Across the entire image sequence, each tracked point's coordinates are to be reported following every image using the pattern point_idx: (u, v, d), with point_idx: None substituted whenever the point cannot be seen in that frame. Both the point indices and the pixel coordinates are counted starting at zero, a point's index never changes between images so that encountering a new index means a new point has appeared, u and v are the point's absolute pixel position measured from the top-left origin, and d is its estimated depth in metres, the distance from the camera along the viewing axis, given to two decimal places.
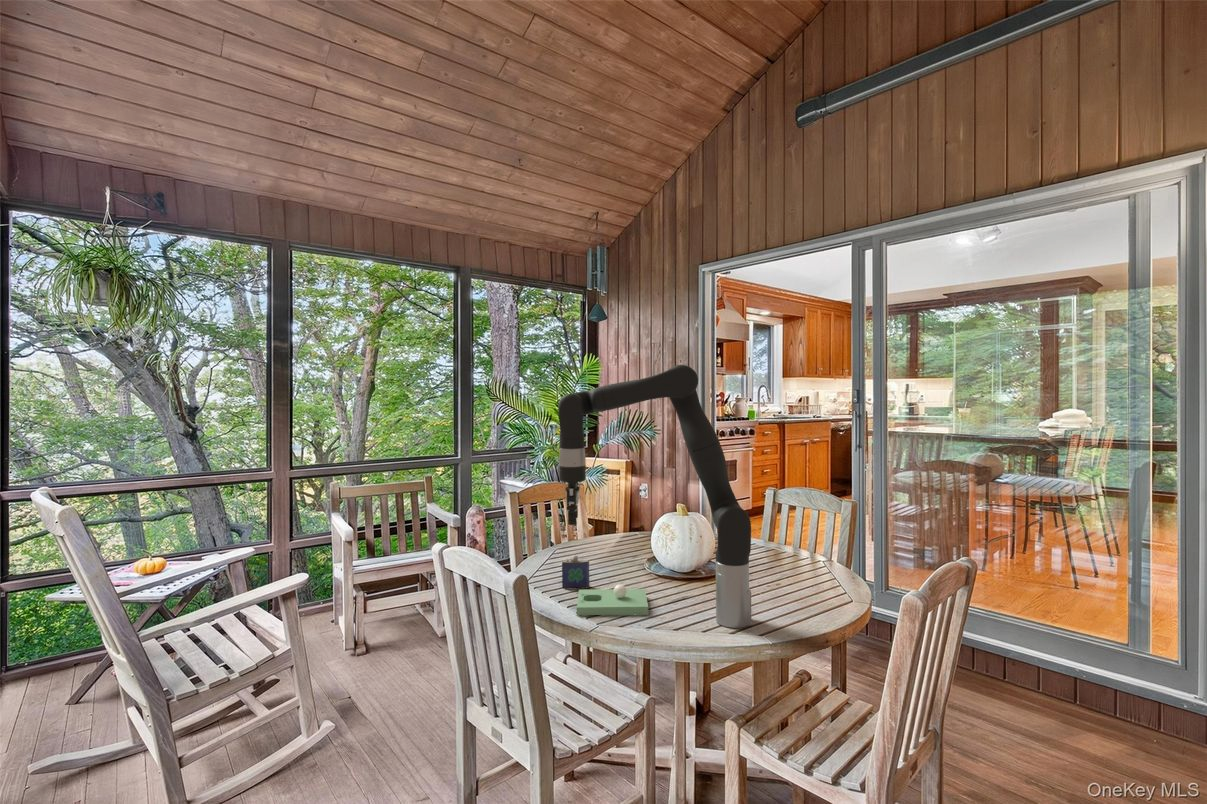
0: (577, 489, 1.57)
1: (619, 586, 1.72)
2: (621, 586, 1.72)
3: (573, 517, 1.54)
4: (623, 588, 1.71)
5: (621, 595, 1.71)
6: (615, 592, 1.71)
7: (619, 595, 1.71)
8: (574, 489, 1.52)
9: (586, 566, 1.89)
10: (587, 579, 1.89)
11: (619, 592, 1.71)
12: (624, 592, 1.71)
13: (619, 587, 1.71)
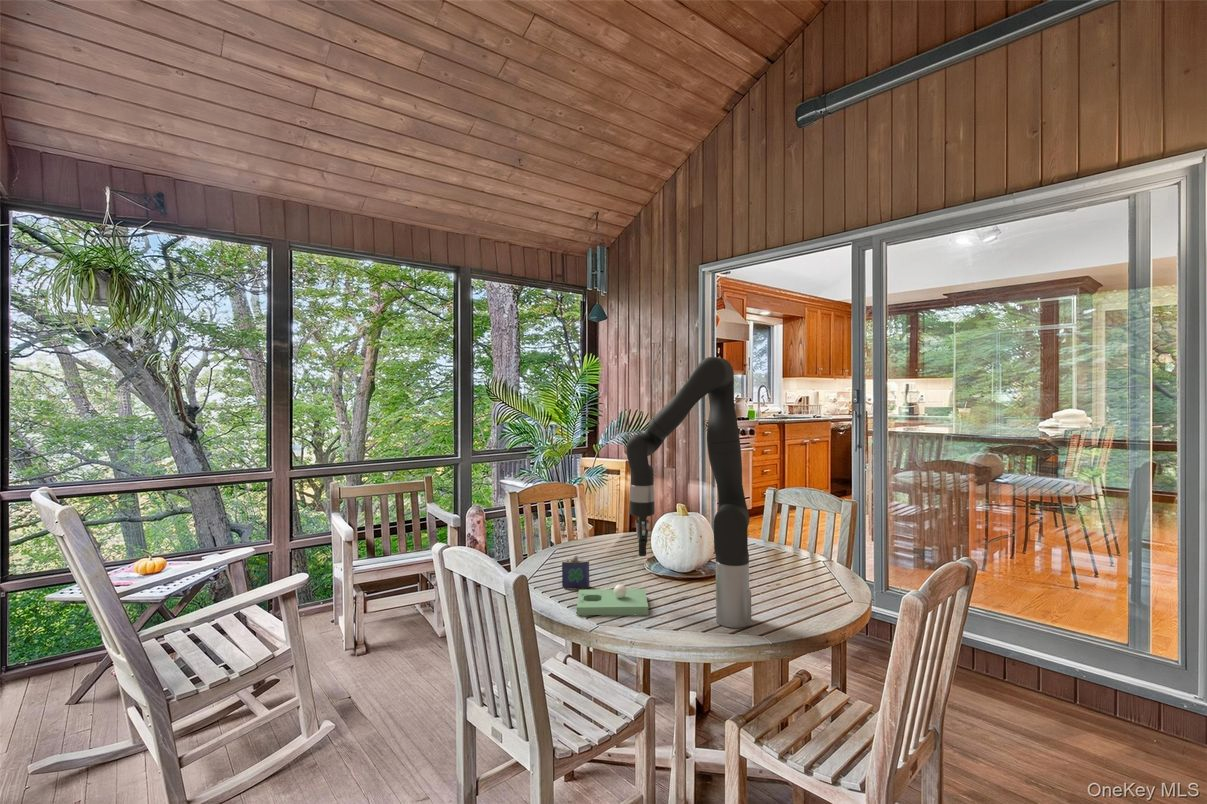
0: (647, 524, 1.70)
1: (619, 586, 1.72)
2: (621, 586, 1.72)
3: (644, 549, 1.71)
4: (623, 588, 1.71)
5: (621, 595, 1.71)
6: (615, 592, 1.71)
7: (619, 595, 1.71)
8: (646, 532, 1.66)
9: (586, 566, 1.89)
10: (587, 579, 1.89)
11: (619, 592, 1.71)
12: (624, 592, 1.71)
13: (619, 587, 1.71)
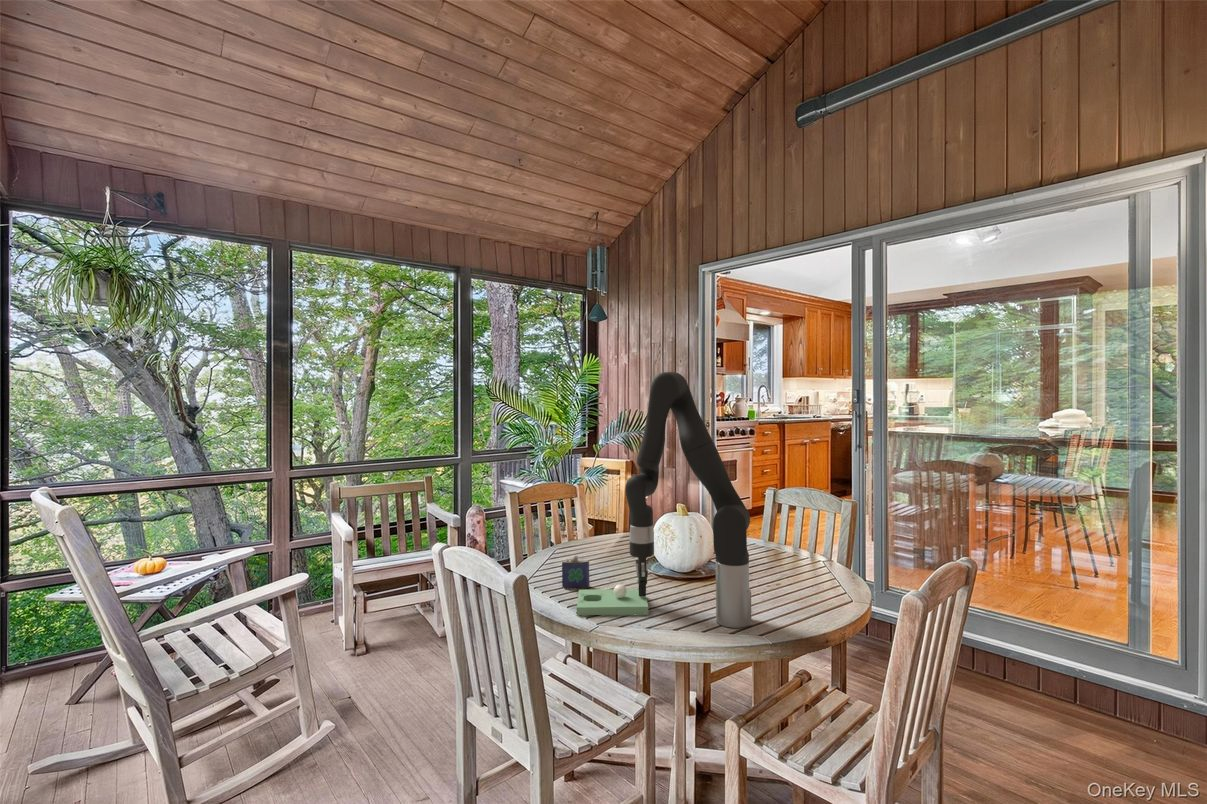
0: (647, 565, 1.71)
1: (619, 586, 1.72)
2: (621, 586, 1.72)
3: (643, 590, 1.71)
4: (623, 588, 1.71)
5: (621, 595, 1.71)
6: (615, 592, 1.71)
7: (619, 595, 1.71)
8: (646, 573, 1.66)
9: (586, 566, 1.89)
10: (587, 579, 1.89)
11: (619, 592, 1.71)
12: (624, 592, 1.71)
13: (619, 587, 1.71)
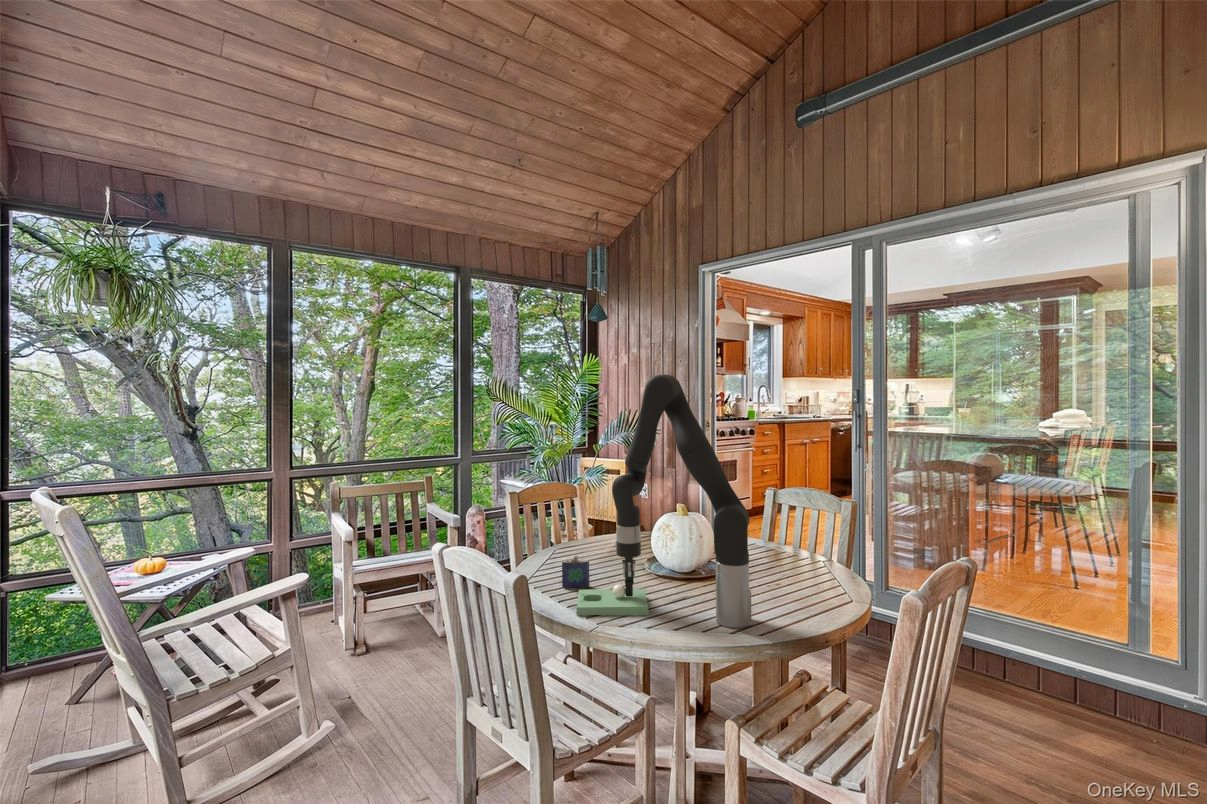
0: (633, 565, 1.71)
1: (617, 586, 1.72)
2: (619, 586, 1.72)
3: (630, 590, 1.71)
4: (621, 588, 1.71)
5: (620, 595, 1.71)
6: (614, 593, 1.71)
7: (618, 595, 1.71)
8: (632, 573, 1.66)
9: (586, 566, 1.89)
10: (587, 579, 1.89)
11: (617, 592, 1.71)
12: (623, 591, 1.71)
13: (618, 588, 1.71)
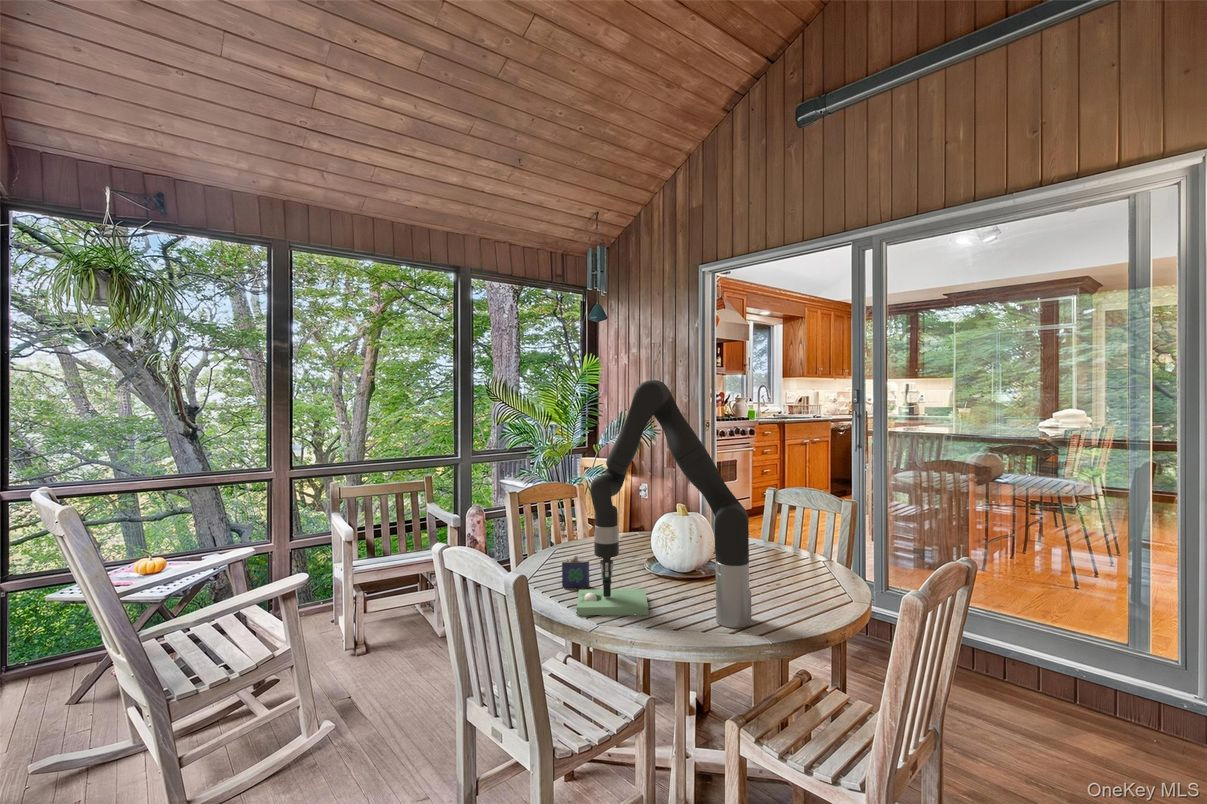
0: (611, 565, 1.71)
1: None
2: None
3: (608, 590, 1.71)
4: None
5: None
6: (592, 596, 1.71)
7: (588, 599, 1.71)
8: (609, 573, 1.66)
9: (586, 566, 1.89)
10: (587, 579, 1.89)
11: None
12: None
13: None
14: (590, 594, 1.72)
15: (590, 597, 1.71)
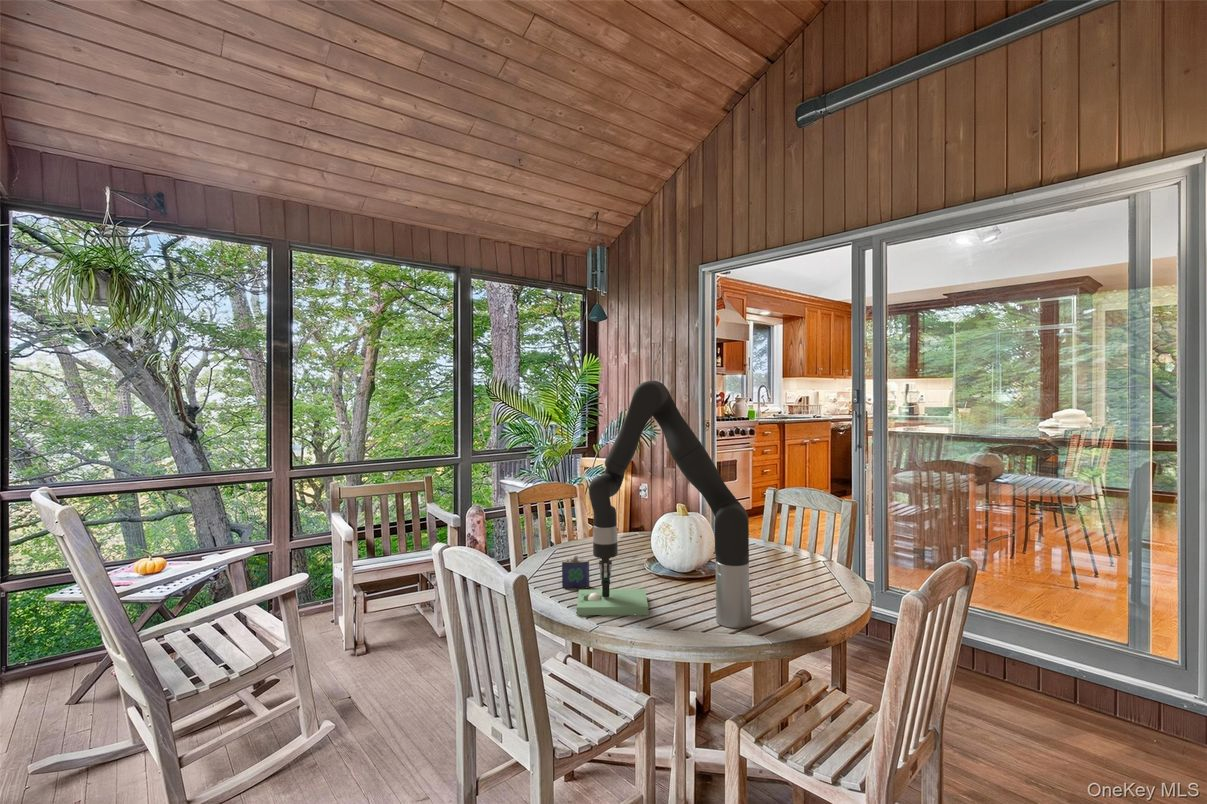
0: (610, 565, 1.71)
1: None
2: None
3: (607, 590, 1.71)
4: None
5: (592, 599, 1.71)
6: (598, 598, 1.71)
7: (593, 599, 1.71)
8: (608, 574, 1.66)
9: (586, 566, 1.89)
10: (587, 579, 1.89)
11: None
12: None
13: None
14: (598, 595, 1.72)
15: (596, 598, 1.71)
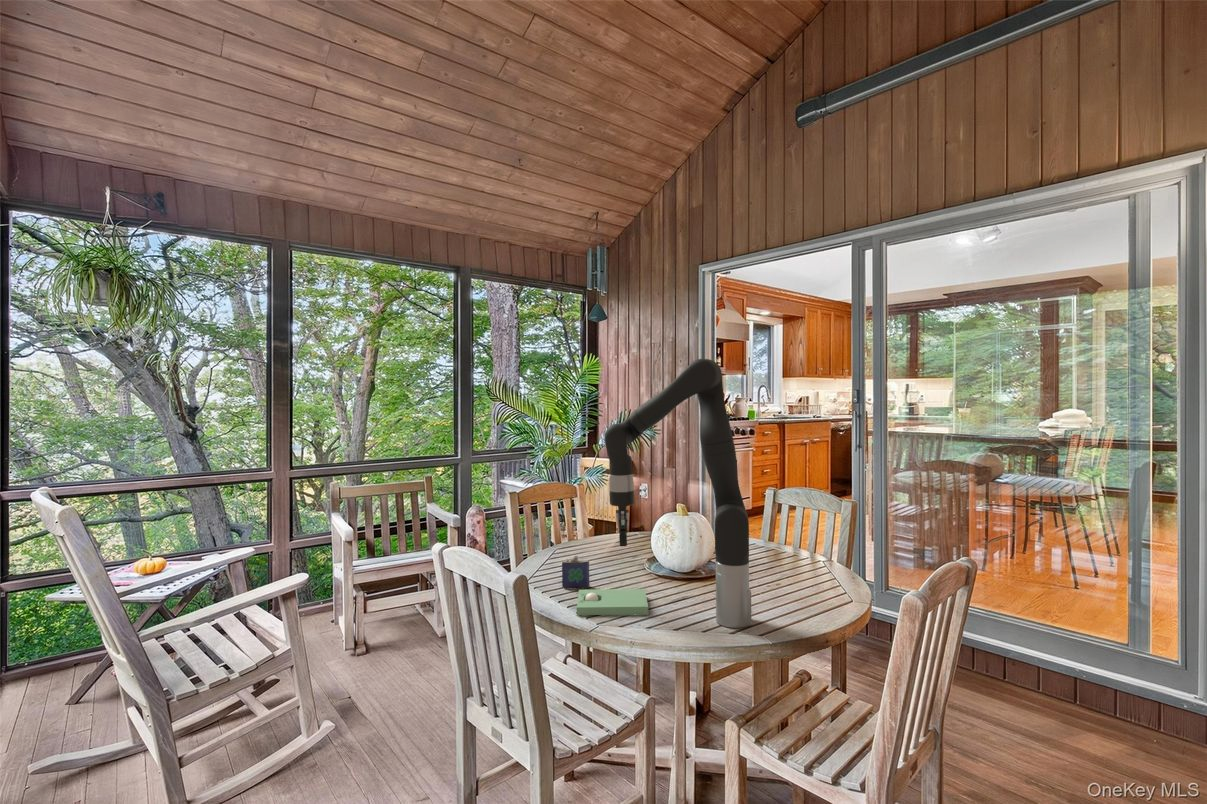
0: (627, 514, 1.70)
1: None
2: None
3: (624, 539, 1.70)
4: None
5: (588, 600, 1.71)
6: (594, 597, 1.71)
7: (590, 599, 1.71)
8: (625, 521, 1.65)
9: (586, 566, 1.89)
10: (587, 579, 1.89)
11: None
12: None
13: None
14: (593, 594, 1.72)
15: (592, 597, 1.71)
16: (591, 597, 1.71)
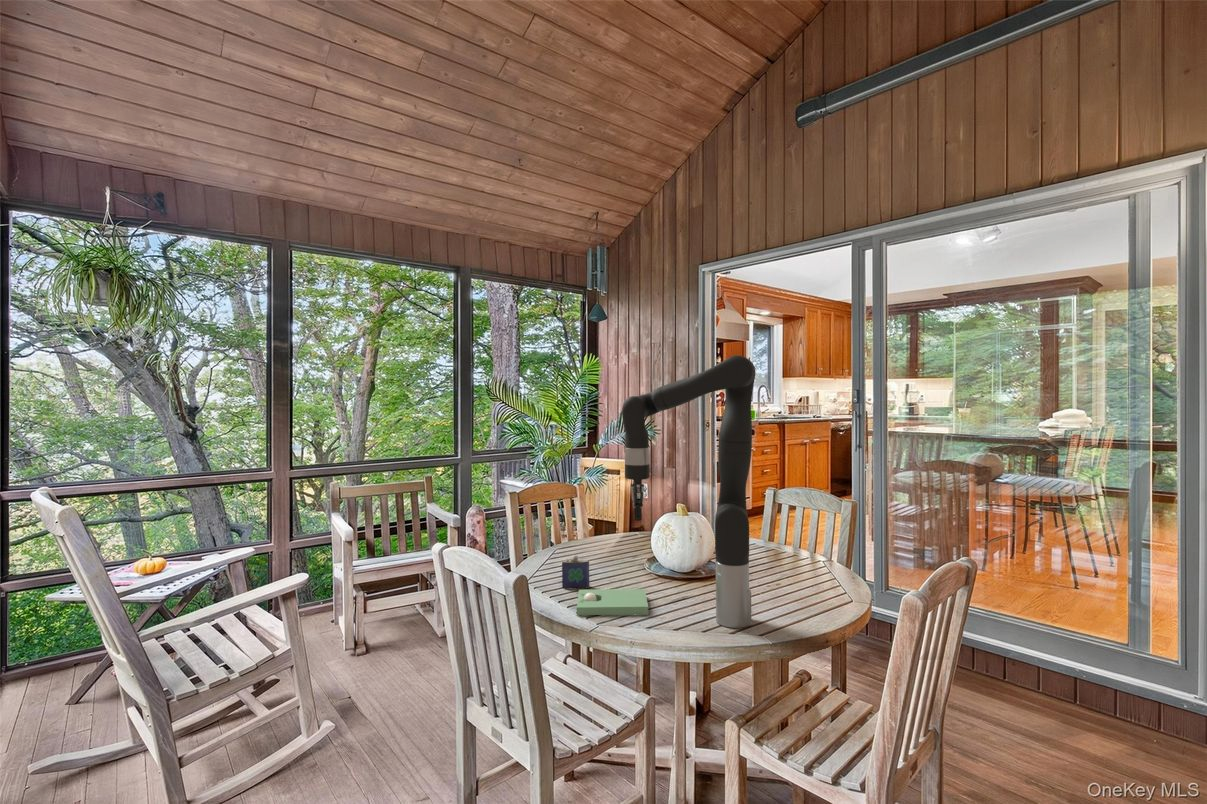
0: (642, 488, 1.67)
1: None
2: None
3: (639, 513, 1.68)
4: None
5: None
6: (592, 596, 1.71)
7: (588, 599, 1.71)
8: (641, 494, 1.63)
9: (586, 566, 1.89)
10: (587, 579, 1.89)
11: None
12: None
13: None
14: (590, 594, 1.72)
15: (590, 597, 1.71)
16: (588, 597, 1.71)
